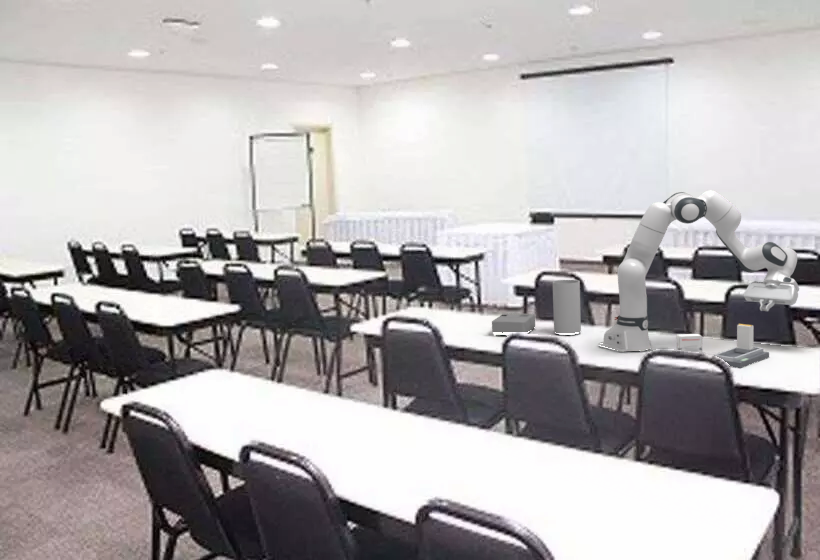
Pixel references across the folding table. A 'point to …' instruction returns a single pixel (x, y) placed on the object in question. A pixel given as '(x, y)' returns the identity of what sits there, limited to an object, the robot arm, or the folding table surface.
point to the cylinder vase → (566, 306)
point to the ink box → (689, 342)
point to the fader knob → (744, 338)
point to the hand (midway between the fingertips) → (763, 310)
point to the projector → (513, 323)
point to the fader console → (742, 357)
